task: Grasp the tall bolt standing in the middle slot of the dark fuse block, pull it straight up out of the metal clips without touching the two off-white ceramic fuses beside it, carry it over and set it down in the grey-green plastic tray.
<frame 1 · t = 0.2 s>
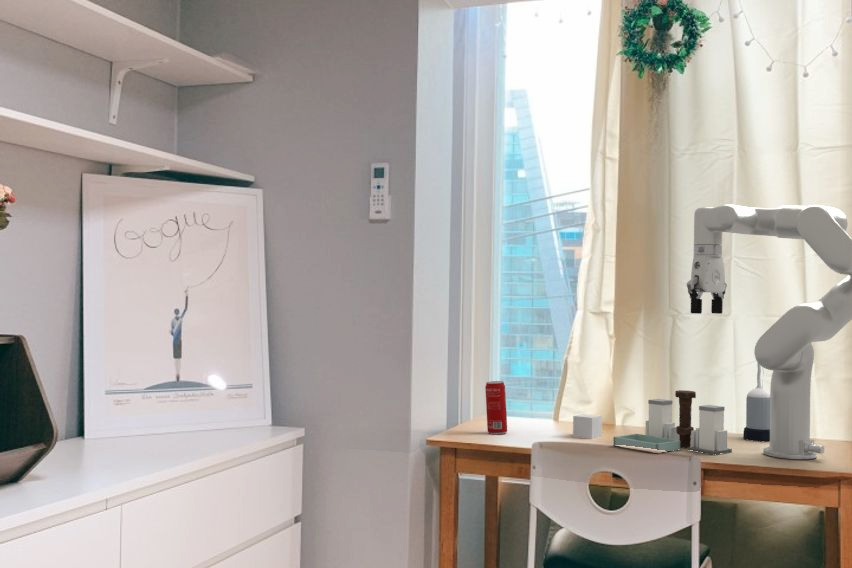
hand: (706, 313, 243), 36 cm above the table, tool pointing down, fingers open, 9 cm apart
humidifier: (758, 439, 250), on the table
light grey cube: (587, 437, 250), on the table
tray: (646, 448, 232), on the table
fuse block: (684, 447, 234), on the table
beverage can: (496, 433, 254), on the table
bolt: (684, 448, 234), on the table
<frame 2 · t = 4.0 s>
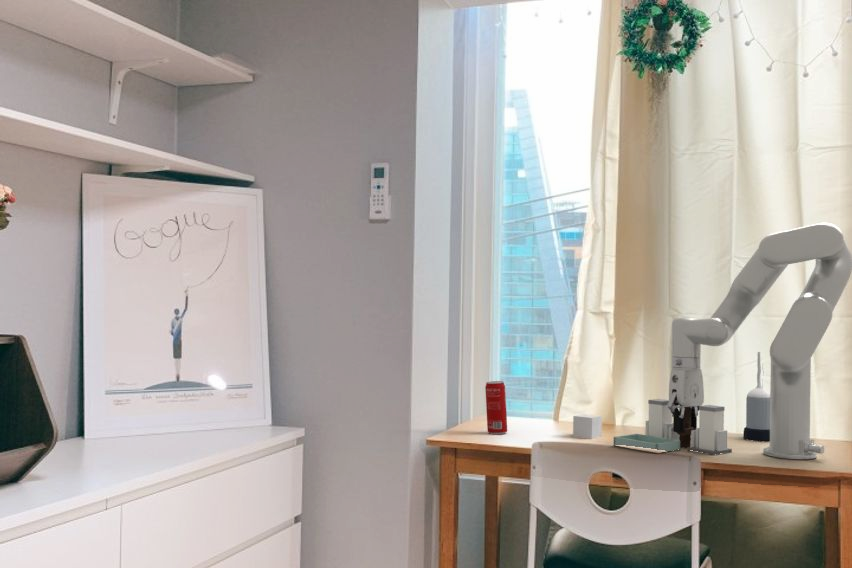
hand: (685, 430, 234), 4 cm above the table, tool pointing down, fingers closed on bolt, 4 cm apart
bolt: (684, 448, 234), on the table, touching gripper
everything else where it was.
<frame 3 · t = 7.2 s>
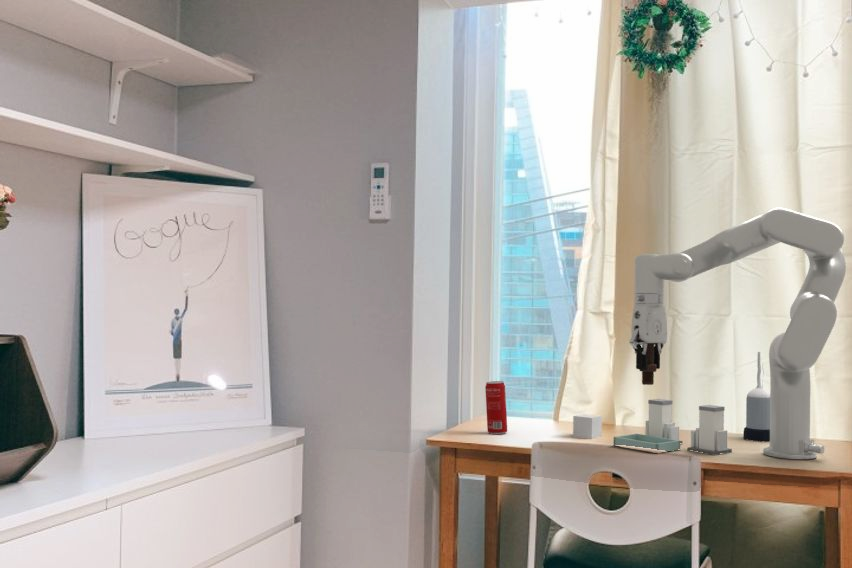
hand: (648, 368, 232), 21 cm above the table, tool pointing down, fingers closed on bolt, 4 cm apart
bolt: (647, 385, 232), point 17 cm above the table, touching gripper
everything else where it was.
when the fingers open (6 cm above the table, at t = 10.8 s): bolt stays where it is, resting on tray.
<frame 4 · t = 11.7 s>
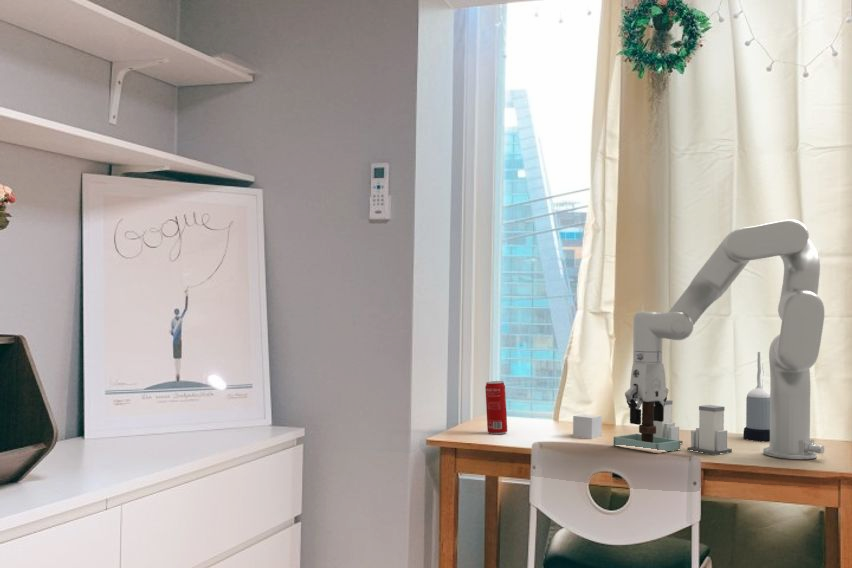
hand: (646, 422, 232), 7 cm above the table, tool pointing down, fingers open, 9 cm apart
bolt: (647, 446, 232), resting on tray
everything else where it was.
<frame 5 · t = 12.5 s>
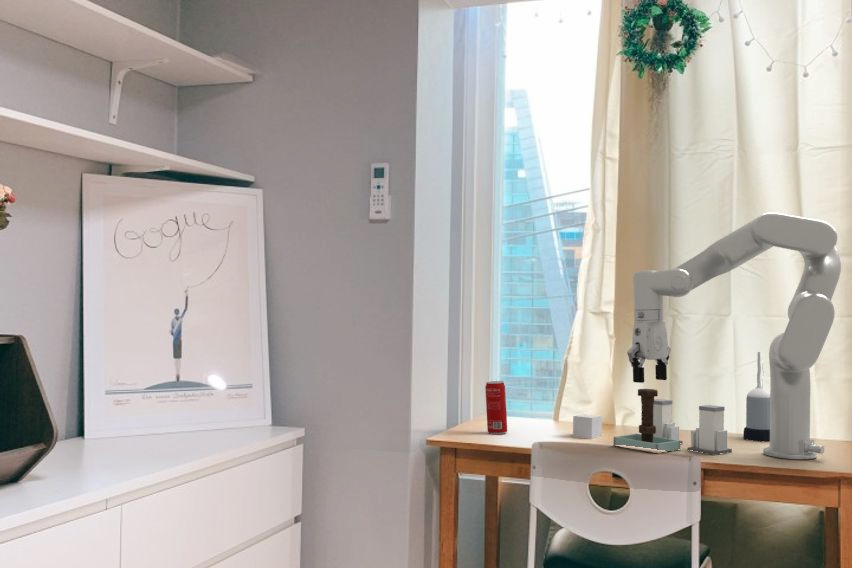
hand: (650, 381, 232), 18 cm above the table, tool pointing down, fingers open, 9 cm apart
nothing on the table moved.
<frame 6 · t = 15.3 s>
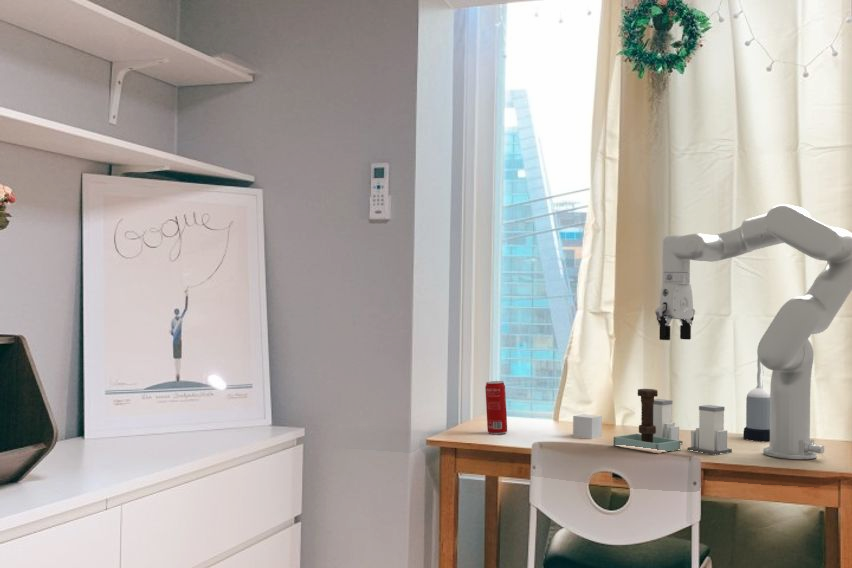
hand: (675, 339, 247), 28 cm above the table, tool pointing down, fingers open, 9 cm apart
nothing on the table moved.
at the end: bolt inside the target area on the tray (0.1 cm from its centre), point 0.3 cm above the tray's base; the gripper is holding nothing; bolt moved 11.0 cm from its start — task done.
